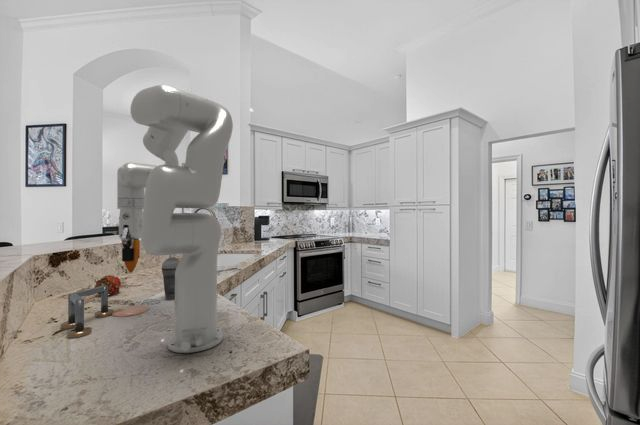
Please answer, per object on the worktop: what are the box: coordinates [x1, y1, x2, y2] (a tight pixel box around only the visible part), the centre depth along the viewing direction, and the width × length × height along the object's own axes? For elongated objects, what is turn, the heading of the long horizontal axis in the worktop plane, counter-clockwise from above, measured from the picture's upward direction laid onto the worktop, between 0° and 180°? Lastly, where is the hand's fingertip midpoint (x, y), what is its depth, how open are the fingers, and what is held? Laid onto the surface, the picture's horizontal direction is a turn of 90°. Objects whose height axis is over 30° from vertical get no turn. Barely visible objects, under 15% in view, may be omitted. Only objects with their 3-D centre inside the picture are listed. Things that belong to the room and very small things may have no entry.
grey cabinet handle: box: [60, 285, 115, 339], centre depth 83 cm, size 21×10×9 cm, turn 18°
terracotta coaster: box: [111, 304, 150, 318], centre depth 94 cm, size 10×10×1 cm
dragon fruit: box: [93, 274, 122, 295], centre depth 116 cm, size 8×8×12 cm
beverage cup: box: [160, 254, 180, 301], centre depth 110 cm, size 7×7×20 cm
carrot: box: [123, 238, 141, 274], centre depth 95 cm, size 5×5×15 cm
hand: (131, 259), depth 95 cm, fingers closed on carrot, 4 cm apart
